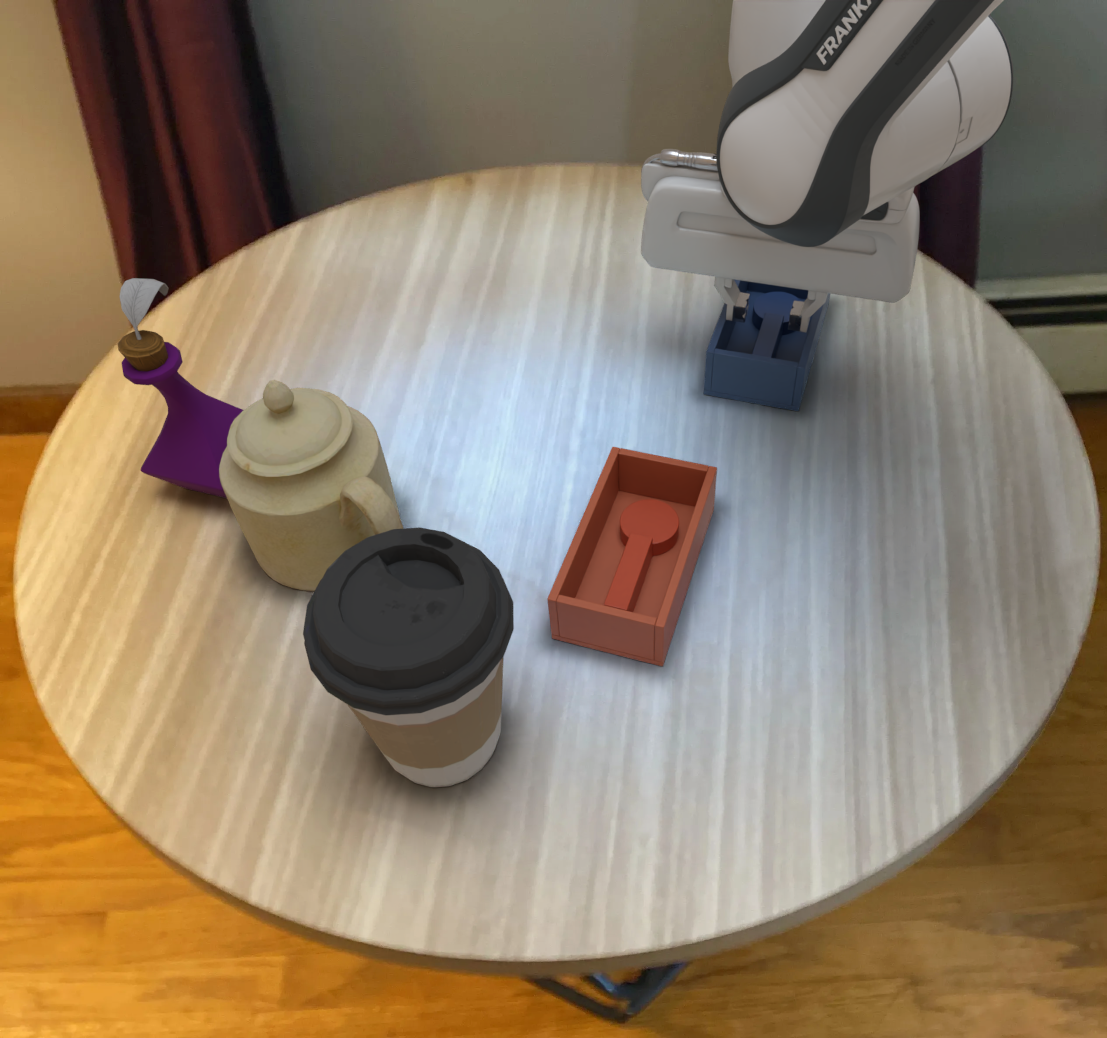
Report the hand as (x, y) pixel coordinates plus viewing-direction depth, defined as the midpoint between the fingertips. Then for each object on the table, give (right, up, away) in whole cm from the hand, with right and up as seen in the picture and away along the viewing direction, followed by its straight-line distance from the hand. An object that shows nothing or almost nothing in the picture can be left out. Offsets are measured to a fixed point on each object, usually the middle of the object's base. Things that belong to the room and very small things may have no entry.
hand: (767, 321), depth 82 cm
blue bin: (+1, -1, +5) cm, 5 cm away
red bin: (-11, -19, -10) cm, 24 cm away
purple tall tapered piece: (-43, -12, -1) cm, 45 cm away
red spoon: (-11, -19, -10) cm, 24 cm away
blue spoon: (+1, -1, +4) cm, 5 cm away
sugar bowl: (-32, -17, -6) cm, 37 cm away
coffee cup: (-24, -30, -17) cm, 42 cm away
